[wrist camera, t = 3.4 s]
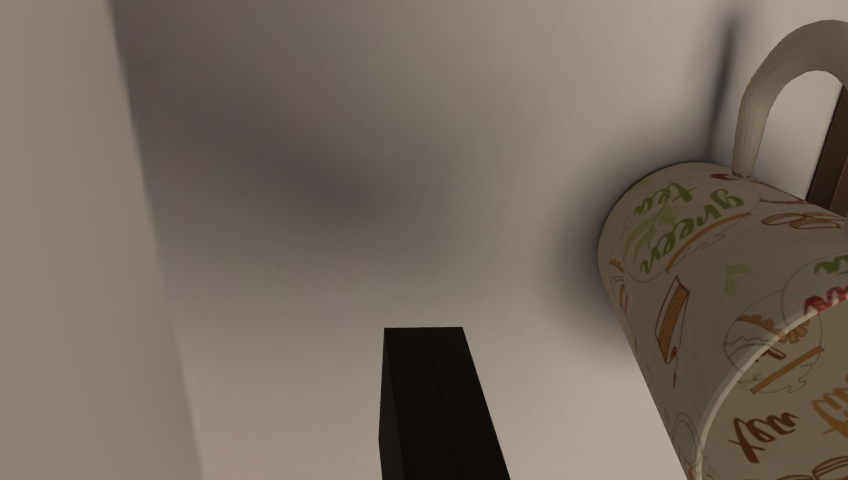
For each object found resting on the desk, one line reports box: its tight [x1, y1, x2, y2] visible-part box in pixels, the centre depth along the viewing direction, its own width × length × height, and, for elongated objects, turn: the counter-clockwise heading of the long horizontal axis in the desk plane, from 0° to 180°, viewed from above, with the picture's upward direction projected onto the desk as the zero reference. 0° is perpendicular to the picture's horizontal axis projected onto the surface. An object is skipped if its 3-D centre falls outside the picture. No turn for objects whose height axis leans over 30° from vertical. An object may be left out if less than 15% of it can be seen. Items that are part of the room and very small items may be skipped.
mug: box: [598, 20, 848, 480], centre depth 20 cm, size 8×13×10 cm, turn 179°
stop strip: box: [807, 86, 848, 218], centre depth 25 cm, size 16×1×1 cm, turn 176°
